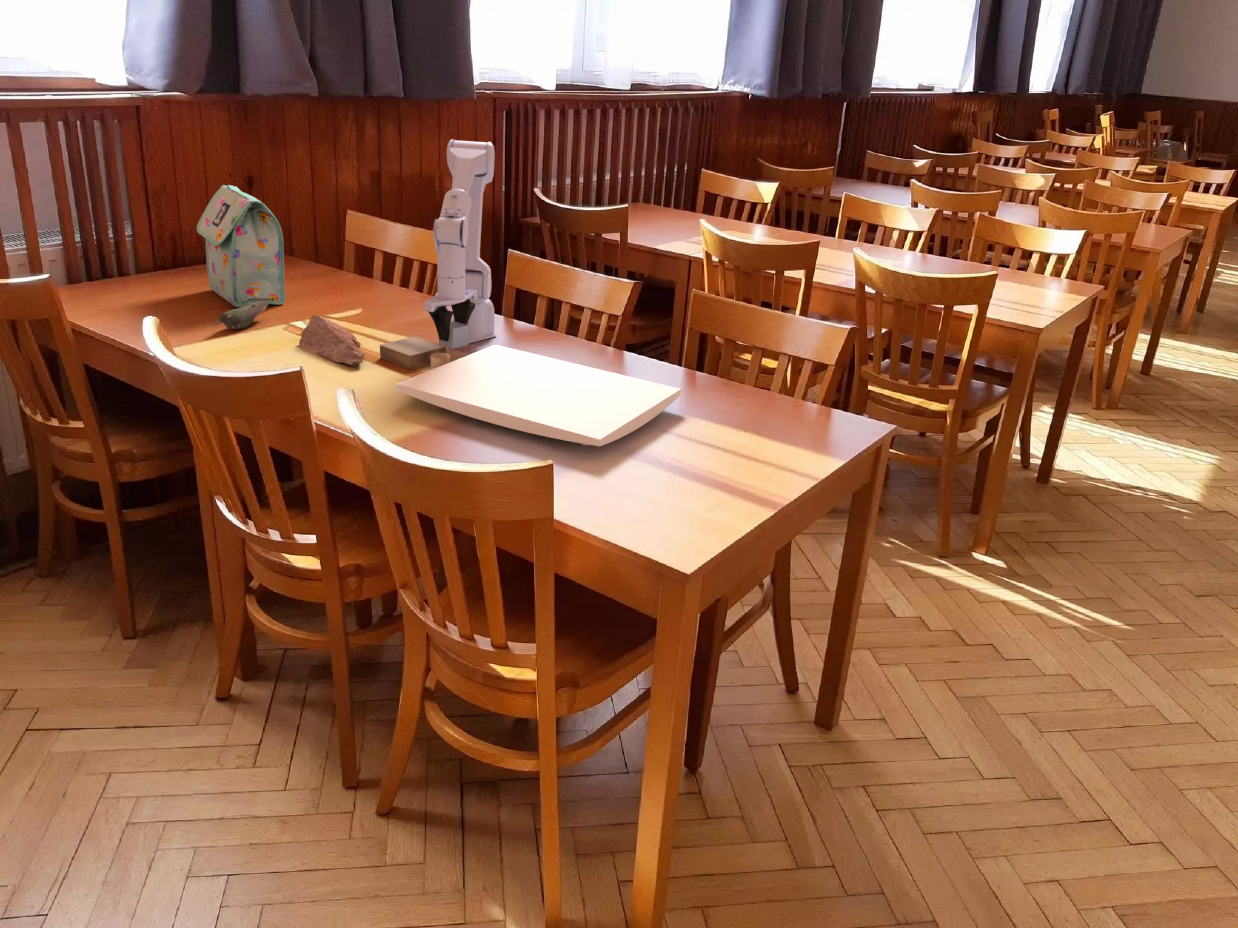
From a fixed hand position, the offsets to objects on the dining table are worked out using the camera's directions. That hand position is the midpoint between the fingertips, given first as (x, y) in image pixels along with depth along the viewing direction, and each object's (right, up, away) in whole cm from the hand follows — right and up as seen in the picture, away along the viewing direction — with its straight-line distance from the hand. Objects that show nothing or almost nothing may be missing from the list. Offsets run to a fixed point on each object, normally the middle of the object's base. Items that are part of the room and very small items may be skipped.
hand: (452, 337), depth 212 cm
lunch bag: (-59, +15, +39) cm, 72 cm away
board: (+21, -17, -19) cm, 33 cm away
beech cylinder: (-1, -10, -8) cm, 13 cm away
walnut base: (-9, -4, +3) cm, 10 cm away
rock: (-25, -3, +5) cm, 25 cm away
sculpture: (-52, +4, +16) cm, 54 cm away
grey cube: (0, -2, 0) cm, 2 cm away
